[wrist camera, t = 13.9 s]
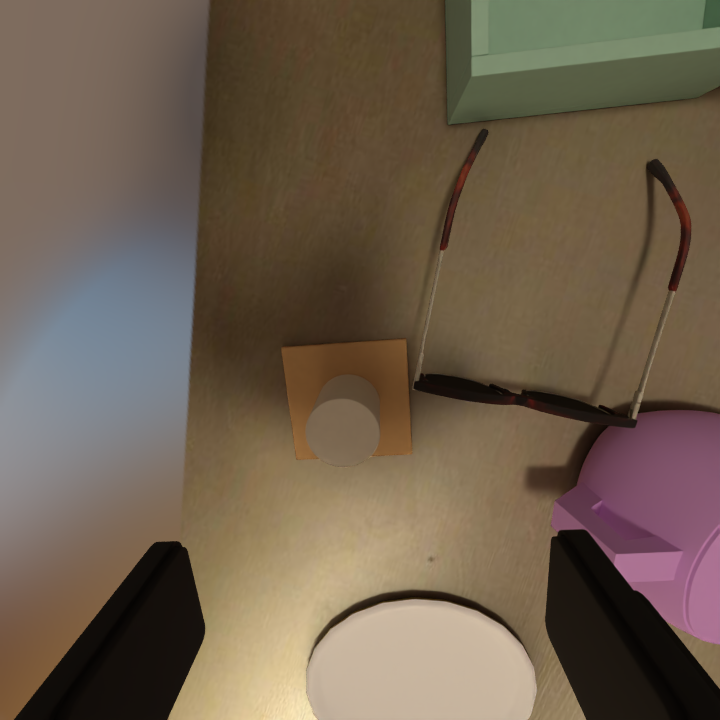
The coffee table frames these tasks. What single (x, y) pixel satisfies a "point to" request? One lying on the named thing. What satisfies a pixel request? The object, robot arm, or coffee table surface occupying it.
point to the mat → (362, 358)
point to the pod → (345, 421)
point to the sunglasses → (540, 399)
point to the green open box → (576, 55)
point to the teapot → (657, 512)
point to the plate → (420, 665)
